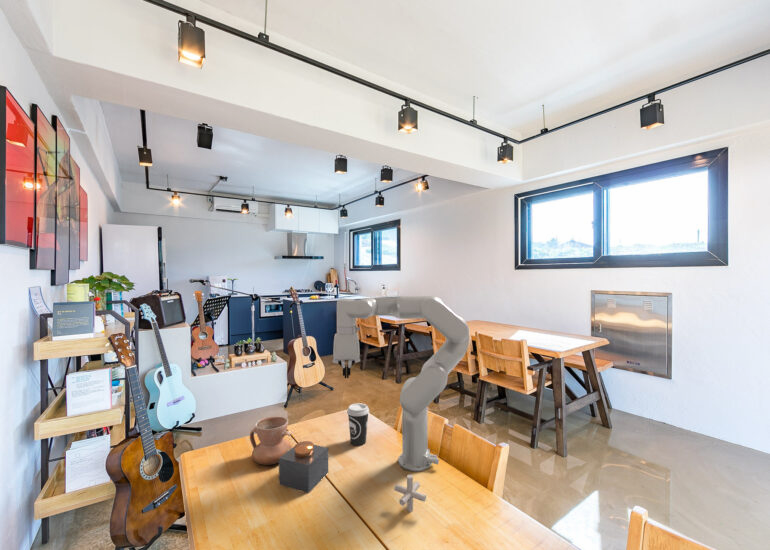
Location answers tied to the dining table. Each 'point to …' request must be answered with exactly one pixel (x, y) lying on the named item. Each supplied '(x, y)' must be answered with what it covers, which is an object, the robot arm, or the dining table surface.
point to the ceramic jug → (270, 440)
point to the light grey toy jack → (409, 493)
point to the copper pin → (304, 449)
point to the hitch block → (303, 469)
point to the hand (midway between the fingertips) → (346, 377)
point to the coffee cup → (358, 423)
